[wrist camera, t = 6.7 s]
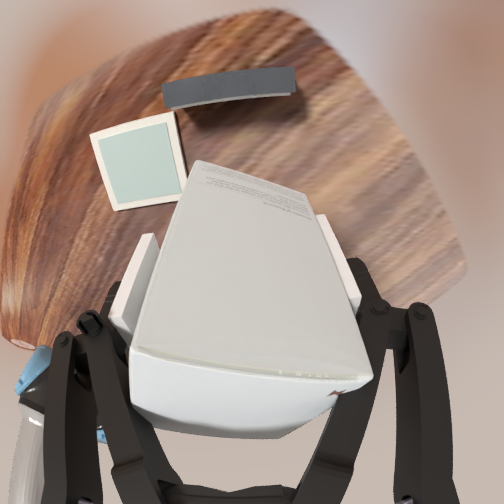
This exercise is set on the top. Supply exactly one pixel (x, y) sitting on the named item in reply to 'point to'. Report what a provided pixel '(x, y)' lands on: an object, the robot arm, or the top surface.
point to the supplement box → (243, 315)
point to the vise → (229, 86)
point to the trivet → (141, 161)
